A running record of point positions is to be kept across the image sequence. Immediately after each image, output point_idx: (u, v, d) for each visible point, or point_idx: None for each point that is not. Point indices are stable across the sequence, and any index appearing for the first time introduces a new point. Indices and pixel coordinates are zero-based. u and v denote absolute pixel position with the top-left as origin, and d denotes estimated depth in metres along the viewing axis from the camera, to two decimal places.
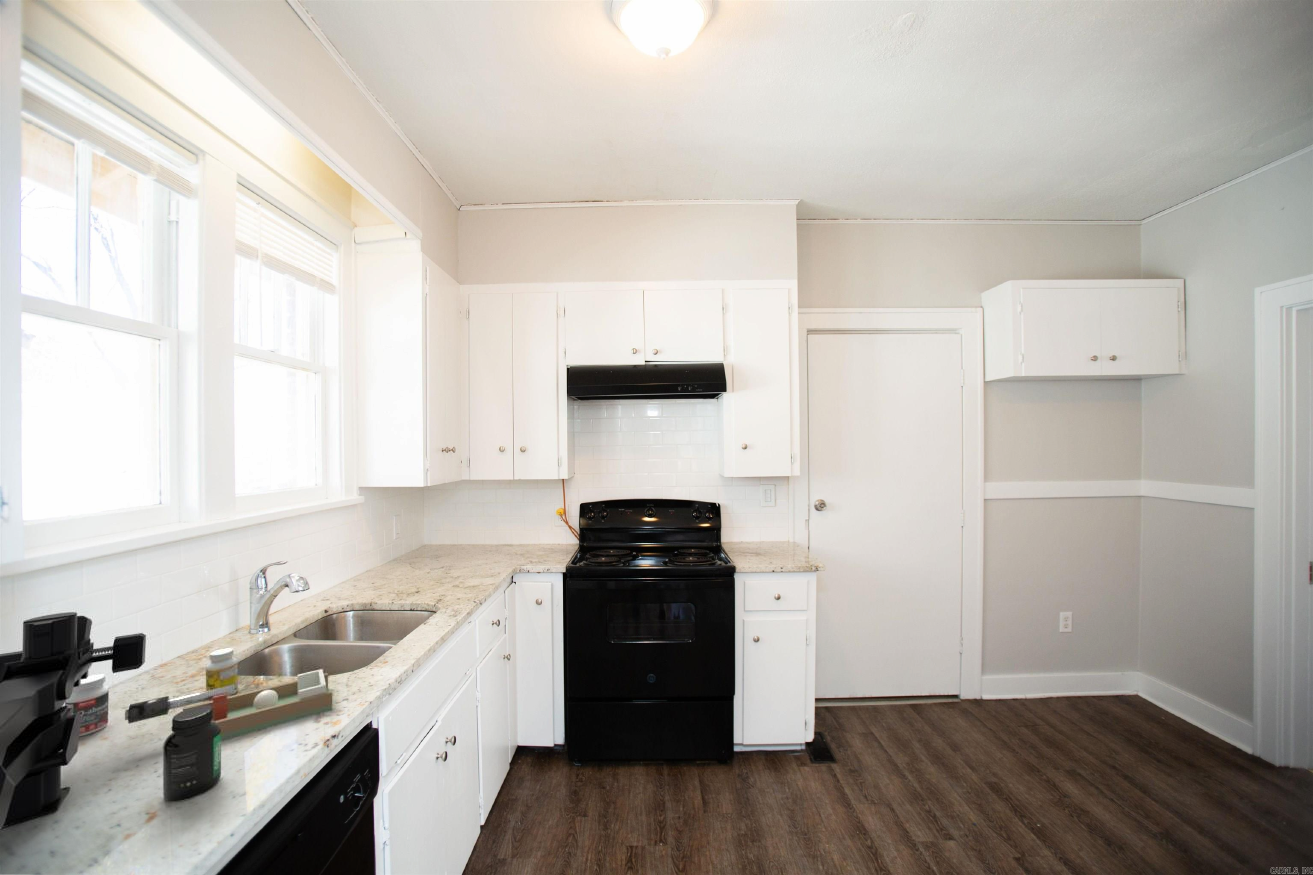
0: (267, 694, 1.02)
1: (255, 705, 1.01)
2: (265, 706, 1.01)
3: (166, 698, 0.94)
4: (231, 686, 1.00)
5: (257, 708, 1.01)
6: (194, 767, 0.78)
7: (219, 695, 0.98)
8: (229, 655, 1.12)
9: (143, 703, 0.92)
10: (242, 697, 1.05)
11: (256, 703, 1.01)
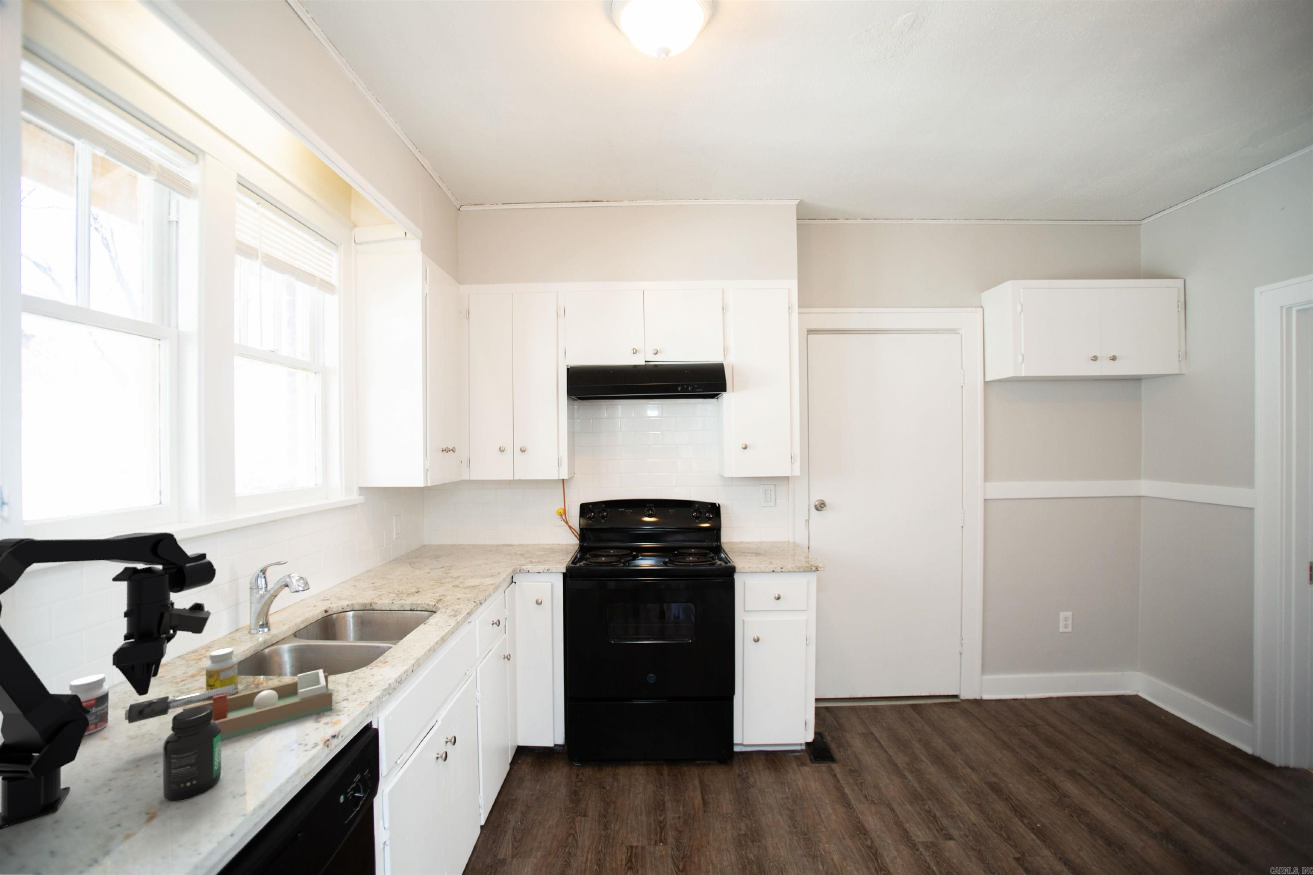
0: (267, 694, 1.02)
1: (255, 705, 1.01)
2: (265, 706, 1.01)
3: (166, 698, 0.94)
4: (231, 686, 1.00)
5: (257, 708, 1.01)
6: (193, 767, 0.78)
7: (219, 695, 0.98)
8: (229, 655, 1.12)
9: (143, 703, 0.92)
10: (242, 697, 1.05)
11: (256, 703, 1.01)
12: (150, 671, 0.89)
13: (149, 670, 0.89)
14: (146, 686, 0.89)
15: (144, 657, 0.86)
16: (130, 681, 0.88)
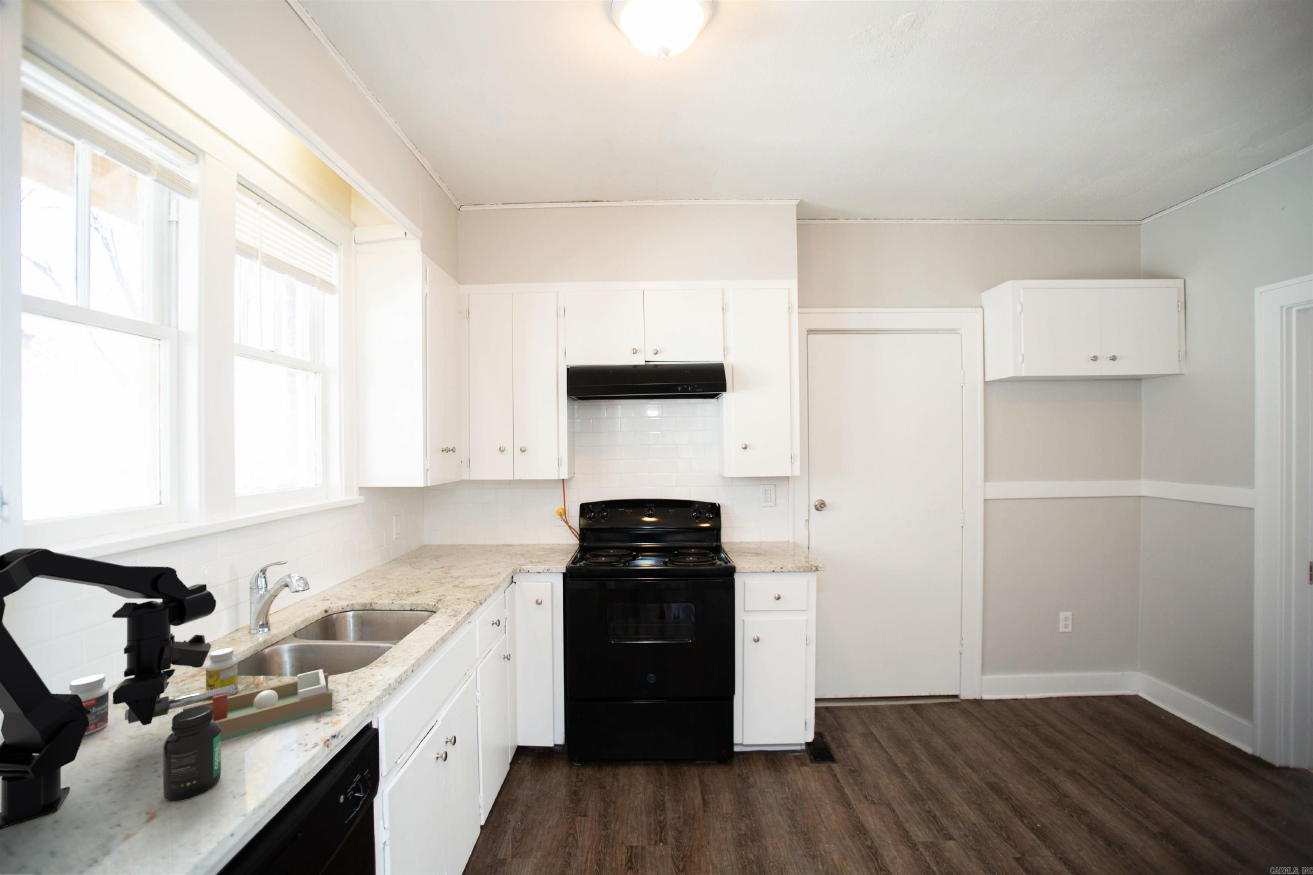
0: (267, 694, 1.02)
1: (255, 705, 1.01)
2: (265, 706, 1.01)
3: (166, 698, 0.94)
4: (231, 686, 1.00)
5: (257, 708, 1.01)
6: (193, 767, 0.78)
7: (219, 695, 0.98)
8: (229, 655, 1.12)
9: None
10: (242, 697, 1.05)
11: (256, 703, 1.01)
12: (154, 701, 0.91)
13: (153, 700, 0.91)
14: (150, 716, 0.91)
15: (144, 695, 0.86)
16: (134, 711, 0.90)
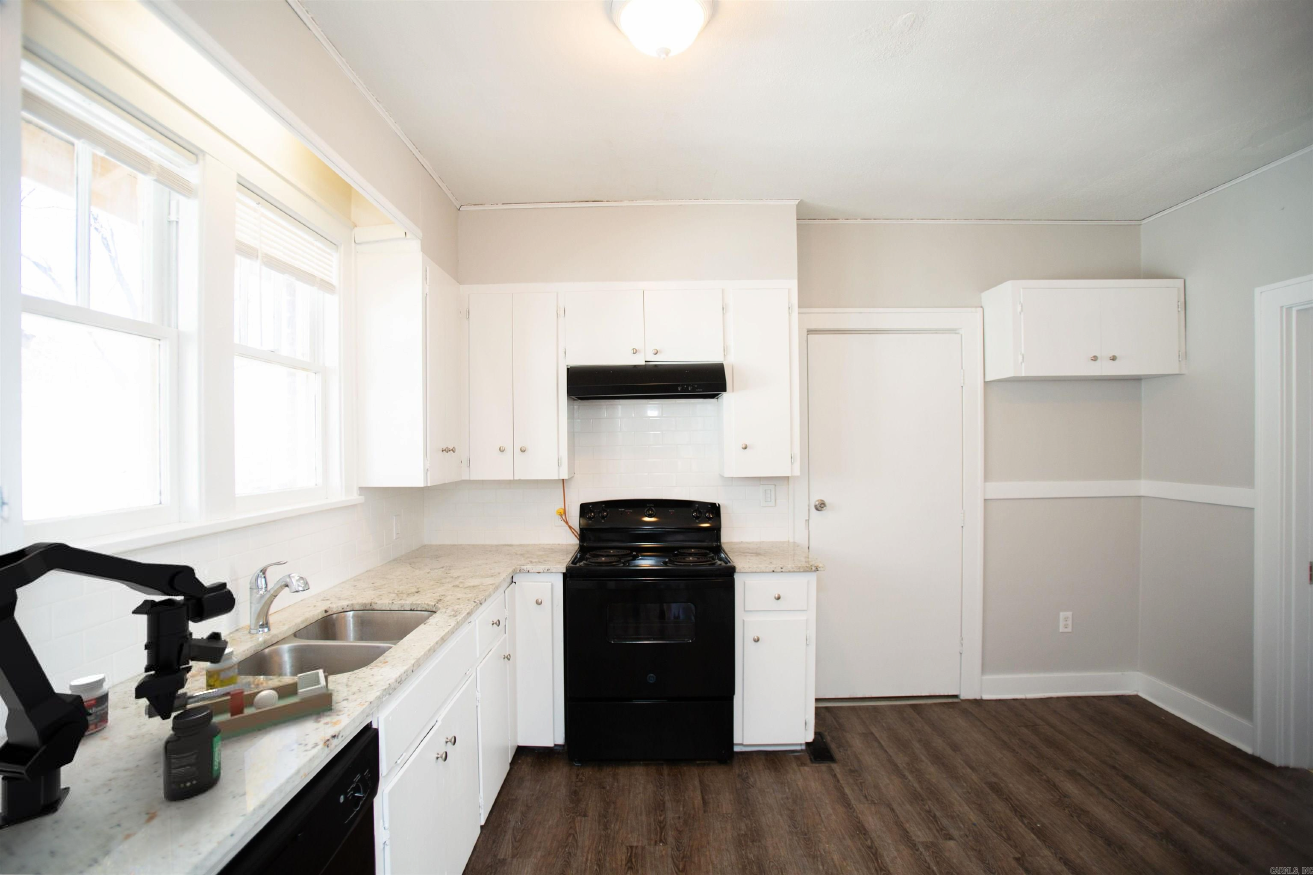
0: (267, 694, 1.02)
1: (255, 705, 1.01)
2: (265, 706, 1.01)
3: (185, 694, 0.95)
4: (247, 682, 1.01)
5: (257, 708, 1.01)
6: (193, 767, 0.78)
7: (236, 691, 0.99)
8: (229, 655, 1.12)
9: None
10: None
11: (256, 703, 1.01)
12: (173, 697, 0.93)
13: (172, 696, 0.92)
14: (169, 711, 0.93)
15: (165, 690, 0.88)
16: (154, 707, 0.91)
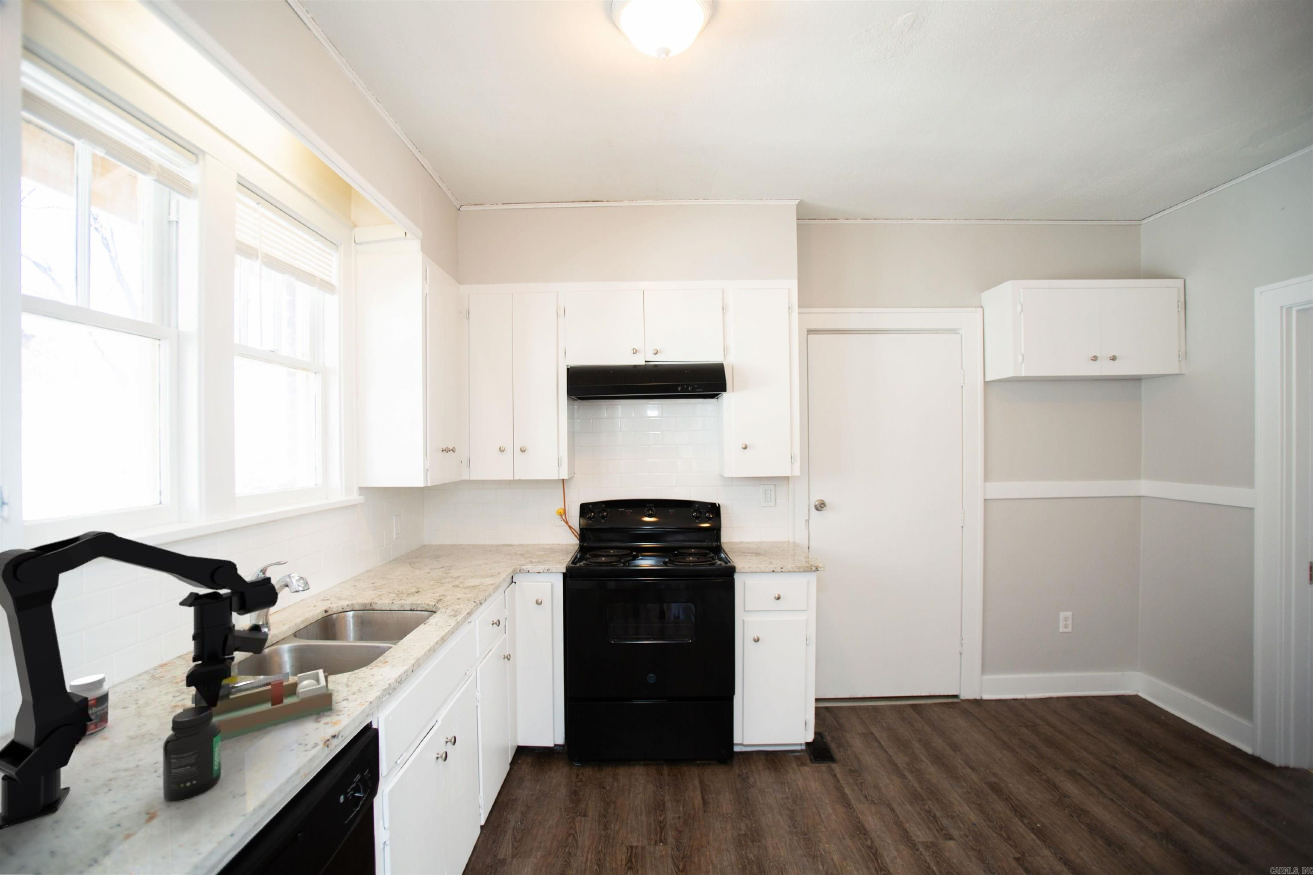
0: None
1: None
2: None
3: (228, 684, 0.99)
4: (286, 673, 1.05)
5: None
6: (193, 767, 0.78)
7: (276, 681, 1.03)
8: None
9: None
10: (242, 697, 1.05)
11: None
12: (219, 685, 0.96)
13: (218, 685, 0.96)
14: (215, 699, 0.97)
15: (214, 678, 0.91)
16: (202, 695, 0.95)
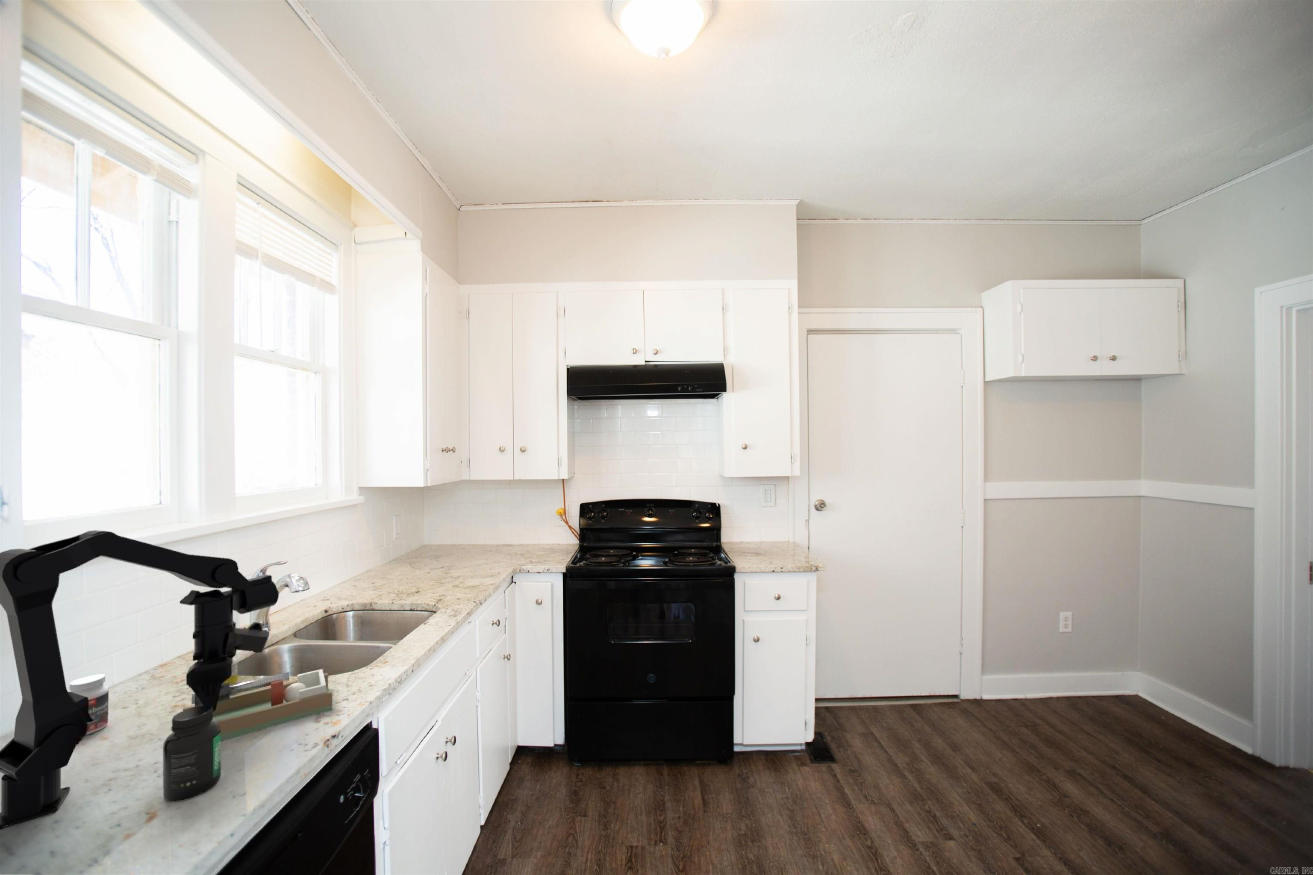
0: None
1: (301, 687, 1.06)
2: (293, 695, 1.04)
3: (228, 684, 0.99)
4: (286, 673, 1.05)
5: (298, 688, 1.05)
6: (193, 767, 0.78)
7: (276, 681, 1.03)
8: None
9: None
10: (242, 697, 1.05)
11: None
12: (218, 689, 0.94)
13: (217, 688, 0.94)
14: (214, 703, 0.94)
15: (214, 677, 0.92)
16: (200, 699, 0.93)
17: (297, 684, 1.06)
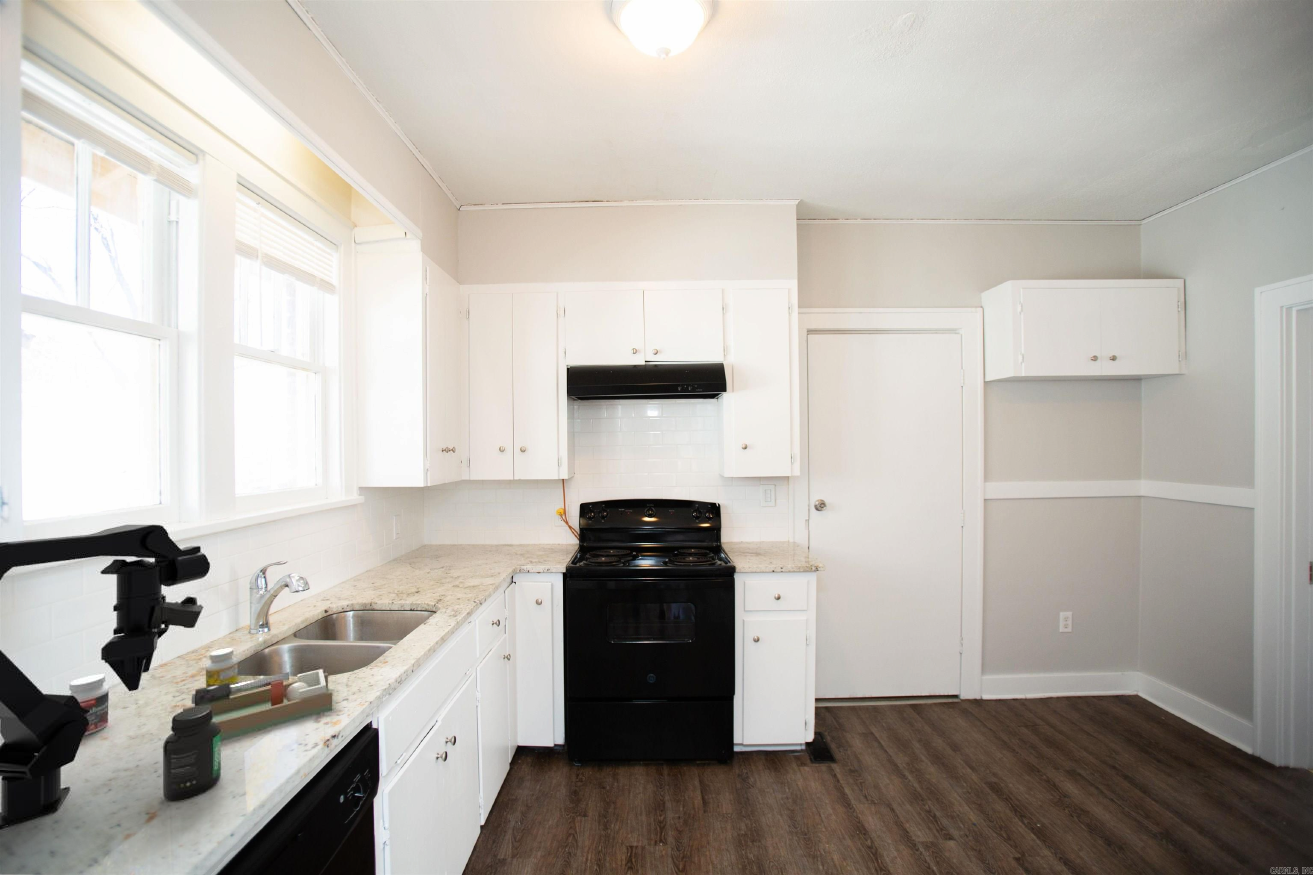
0: None
1: (305, 687, 1.06)
2: (296, 694, 1.05)
3: (228, 684, 0.99)
4: (286, 673, 1.05)
5: (301, 687, 1.06)
6: (193, 767, 0.78)
7: (276, 681, 1.03)
8: (229, 655, 1.12)
9: (208, 688, 0.97)
10: (242, 697, 1.05)
11: None
12: (140, 666, 0.87)
13: (139, 665, 0.87)
14: (136, 681, 0.87)
15: (134, 651, 0.84)
16: (120, 676, 0.85)
17: (301, 683, 1.06)
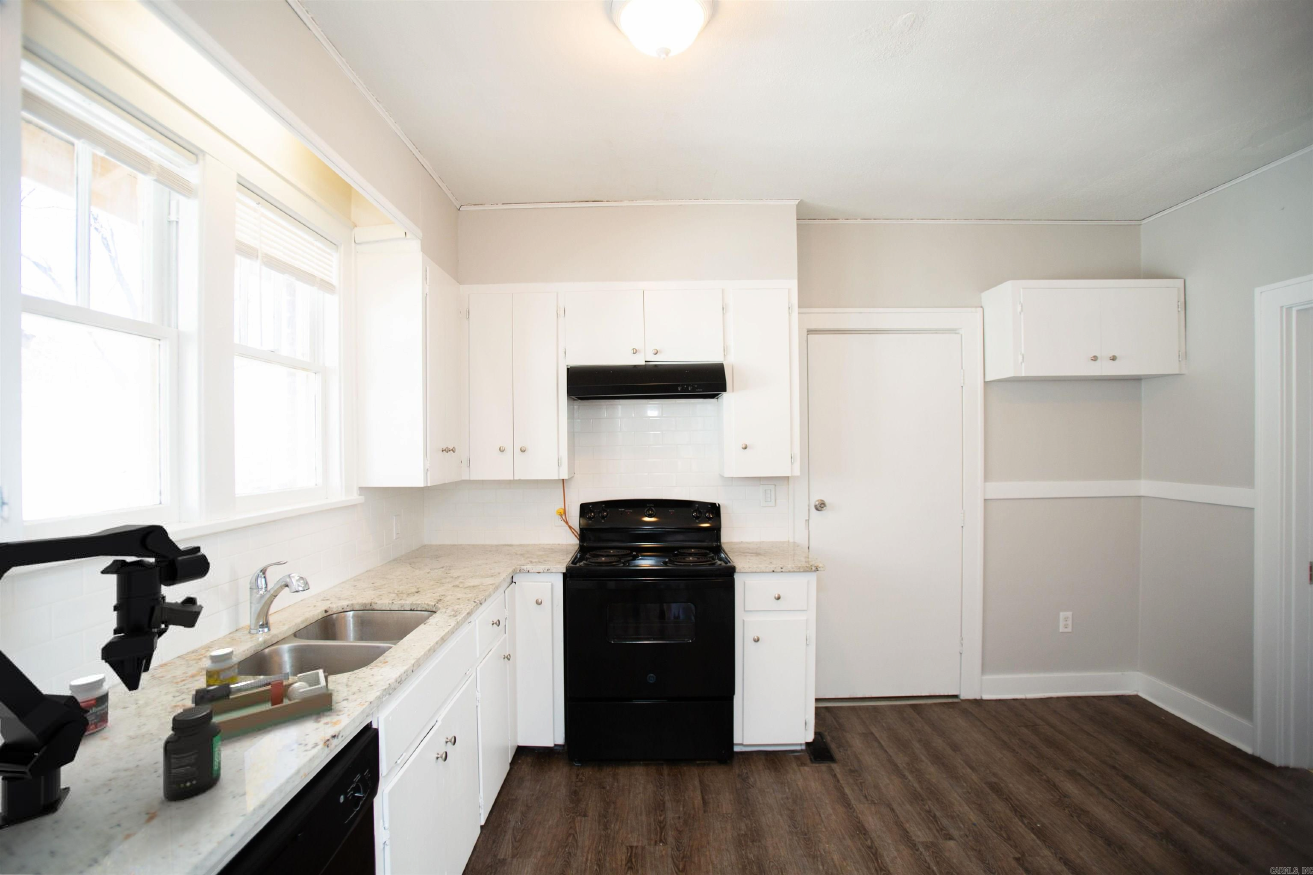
0: None
1: None
2: (297, 694, 1.05)
3: (228, 684, 0.99)
4: (286, 673, 1.05)
5: (303, 687, 1.06)
6: (193, 767, 0.78)
7: (276, 681, 1.03)
8: (229, 655, 1.12)
9: (208, 688, 0.97)
10: (242, 697, 1.05)
11: None
12: (140, 666, 0.87)
13: (139, 665, 0.87)
14: (136, 681, 0.87)
15: (134, 651, 0.84)
16: (120, 676, 0.85)
17: (303, 683, 1.07)
